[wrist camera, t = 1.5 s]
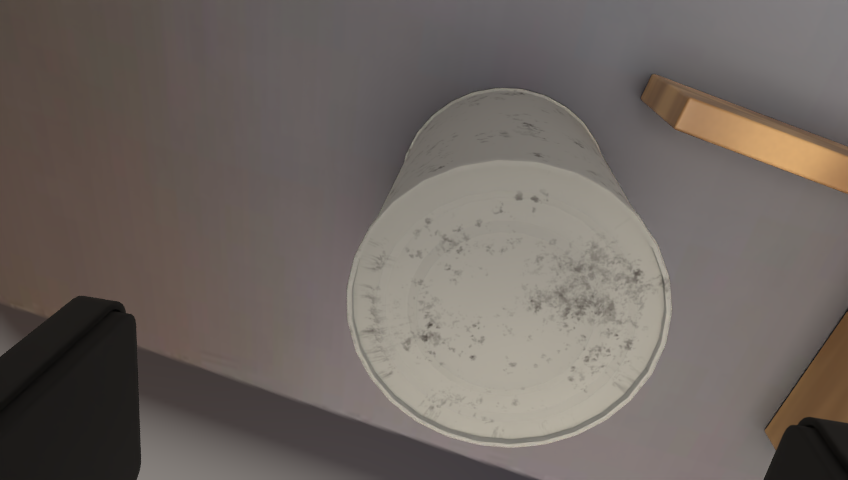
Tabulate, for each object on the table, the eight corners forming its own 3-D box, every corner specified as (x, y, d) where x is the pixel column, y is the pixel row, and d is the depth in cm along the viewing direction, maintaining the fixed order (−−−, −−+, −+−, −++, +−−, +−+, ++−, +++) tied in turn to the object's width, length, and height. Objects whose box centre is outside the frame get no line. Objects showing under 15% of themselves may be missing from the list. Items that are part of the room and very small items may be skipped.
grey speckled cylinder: (552, 311, 33) (581, 488, 22) (372, 241, 33) (306, 383, 21) (644, 135, 29) (738, 237, 18) (444, 53, 29) (410, 105, 18)
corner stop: (522, 344, 34) (527, 416, 28) (651, 72, 28) (689, 96, 23) (785, 438, 34) (840, 527, 29) (962, 189, 29) (1071, 240, 23)
